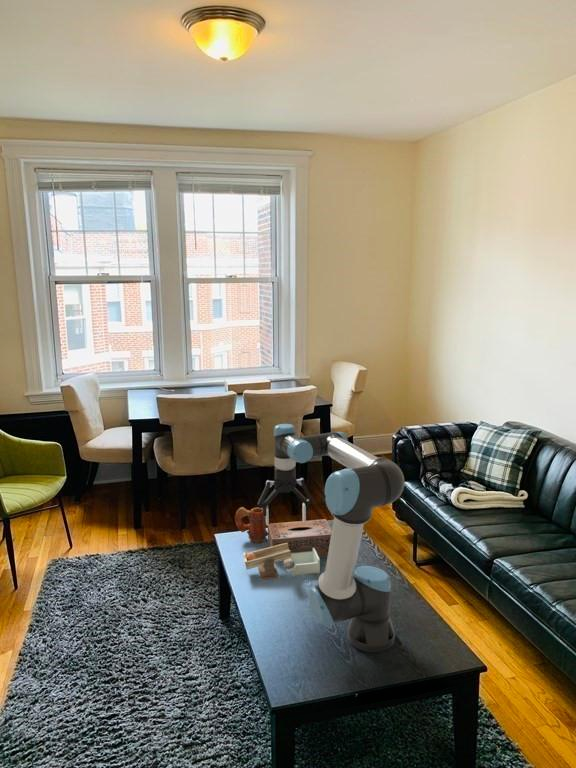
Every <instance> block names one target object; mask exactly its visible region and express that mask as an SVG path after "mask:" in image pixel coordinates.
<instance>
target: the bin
mask: <svg viewBox="0 0 576 768" xmlns="http://www.w3.org/2000/svg"><path fill="white" fill-rule="evenodd" d="M291 556H292V558H291V560H292V561H293V562H294V564H295V565H294V568H295V570H291V571H290V572H291V573H292V574H291V575H292V576H293V577H298V576H306V575H307V576H308V575H317V574H321V573H320V572H321V571H320V569H321V565H320V563H321V562H320V561H321V559H320V557H318V555H317V552H316V550H315V548H312V551H309V552H299V553H291Z"/></svg>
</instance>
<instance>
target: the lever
mask: <svg viewBox="0 0 576 768" xmlns="http://www.w3.org/2000/svg"><path fill="white" fill-rule="evenodd" d="M248 553H253V554H254V555H255V559H254V560H250V561H247V559H246V556H247V554H248ZM242 554H243V555H242V556H243V560H244V564H245V569H246V570H250V569H251V570H252V569H255V568H258V567H259V566H263V565H265V561H268V560H274V563H277V562H282V561H283V568H285V569H286V572H292V571H291V570H295V568H294V565H295V564H294V562H293V561H292V560H291V558H292V556H291V551H290V550H289V548H288V543H284V544H280V545H276V546H272V547H265V548H259V549H256V550H254V551H249V552H242Z"/></svg>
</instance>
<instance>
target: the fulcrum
mask: <svg viewBox="0 0 576 768" xmlns="http://www.w3.org/2000/svg"><path fill="white" fill-rule="evenodd" d="M257 571H258V572H259V578H260V581H265V580H275V579H280V576H279V573H278V570H277V567H276V562H274V560H268V561H265V565H263V566H259V567H257Z"/></svg>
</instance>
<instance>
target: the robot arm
mask: <svg viewBox="0 0 576 768" xmlns="http://www.w3.org/2000/svg"><path fill="white" fill-rule="evenodd" d="M273 429H274V430H273V442H274V443H273V444H274V445H273V446H274V449H273V450H274V451H273V452H274V480H269V479H267V480H266V481H265V486H264V489H263V490H262V492H261V494H260V497H259V499H258V501H257V508H263V516H266V527H268V525H269V524H270V523H269V522H270V521H269V520H270V518H269V517H270V516H269V505H270V504H271V502H272V501H273V500H274V499H275V498H276V497H277V495H278V494H280V493H282V494H285V493H290V492H293V494H295V495H296V496H297V497H298V499H300V500H301V502H302V504H301V505H302V509H301V511H302V512H301V513H302V521H303V522H304V523H306V521H307V515H306V514H309V512H310V511H309V509H310V508H309V506H310V504H314V499H313V497H312V496H311V494H310V492H309V490H308V488H307V486H306V482H305V479H304V477H300V478H298V479H297V477H296V476H297V473H296V471H297V470H296V465H297V464H296V462H297V463H299V464H304V463H307V462H308V461H310V460H311V459H312V458H317V457H325V456H328V457H330V458H331V459H333V460H334V461H336V462H338V464H341V465H342V466H344V467H346V468H344V469H341V470H337V471H334V472H332V473H331V474H330V475H329V476H328V478H327V479H326V481H325V485H324V496H325V498H324V500H325V501H324V502H325V505H326V507H327V509H328V510H329V512H330V514H331V515H332V516H333V522H332V527H331V529H332V533H331V539H330V545H329V551H328V556H326V563H325V568H324V569H325V570H324V571H323V572H322V573H320V575H319V576H318V581H317V585H313V586H311V587H309V589H308V591H307V592H308V594H307V595H308V602H309V605H310V609H311V611H312V613H313V615H314V618H315V619H316V621H317V622H318V623H319V624H320V625H322V626H330V625H335V624H337V623H341V622H344V621H347V620H350V622H349V624H348V626H347V633H346V634H347V640H348V641H349V643H350V644H351V645H352V647H354V648H356V649H357V650H360V651H363V652H366V653H372V654H375V653H381V652H385V651H388V650H389V649H391V648H392V647H393V646H394V644H395V638H396V637H395V636H396V635H395V629H394V626H393V623H392V622H393V621H392V620H391V616H390V615H391V598H392V597H391V591H392V582H391V577H390V574H388V573H387V572H386V571H385V570H383V569H381V568H378V567H376V566H372V565H361V566H358V567H356V566H357V565H356V564H357V560H358V555H359V551H360V550H359V549H360V546H361V545H360V544H361V541H362V534H363V531H364V525H365V524H366V523H368V522H369V521H370V520H371V519H372V513H373V511H374V508H377V507H378V508H379V507H383V506H388V505H390V504H392V503H394V502H395V501H397V500H398V498H400V497H401V495H402V493H403V491H404V488H405V476H404V473H403V471H402V469H401V468H400V467H399V465H397V463H395V462H393V461H392V460H390V459H388V458H386V457H378V456H376V455H374V454H372V453H370V452H368V451H366V450H365V449H363V448H361V447H359V446H357V445H355V444H353V443H351V442H350V441H348V440H349V439H348V437H347V436H346V434H345V433H344V432H343V431H330V432H326V433H319V434H312V435H304V436H298V435H296V427H295V425H293V424H291V423H280V424H277V425H275V426H274V428H273ZM297 484H298V485H299V486H301V488H302V489H303V491H304V493H305V494H306V497H307V498H306V497H305V496H304V495H303V494H302V493H301V492H300V491H299V490H298V489H297V488H296V485H297ZM272 486H274V489H273V491H271V492H270V494H269V495H268V493H269V491H270V488H272ZM267 495H268V496H267ZM266 497H267V498H266Z"/></svg>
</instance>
